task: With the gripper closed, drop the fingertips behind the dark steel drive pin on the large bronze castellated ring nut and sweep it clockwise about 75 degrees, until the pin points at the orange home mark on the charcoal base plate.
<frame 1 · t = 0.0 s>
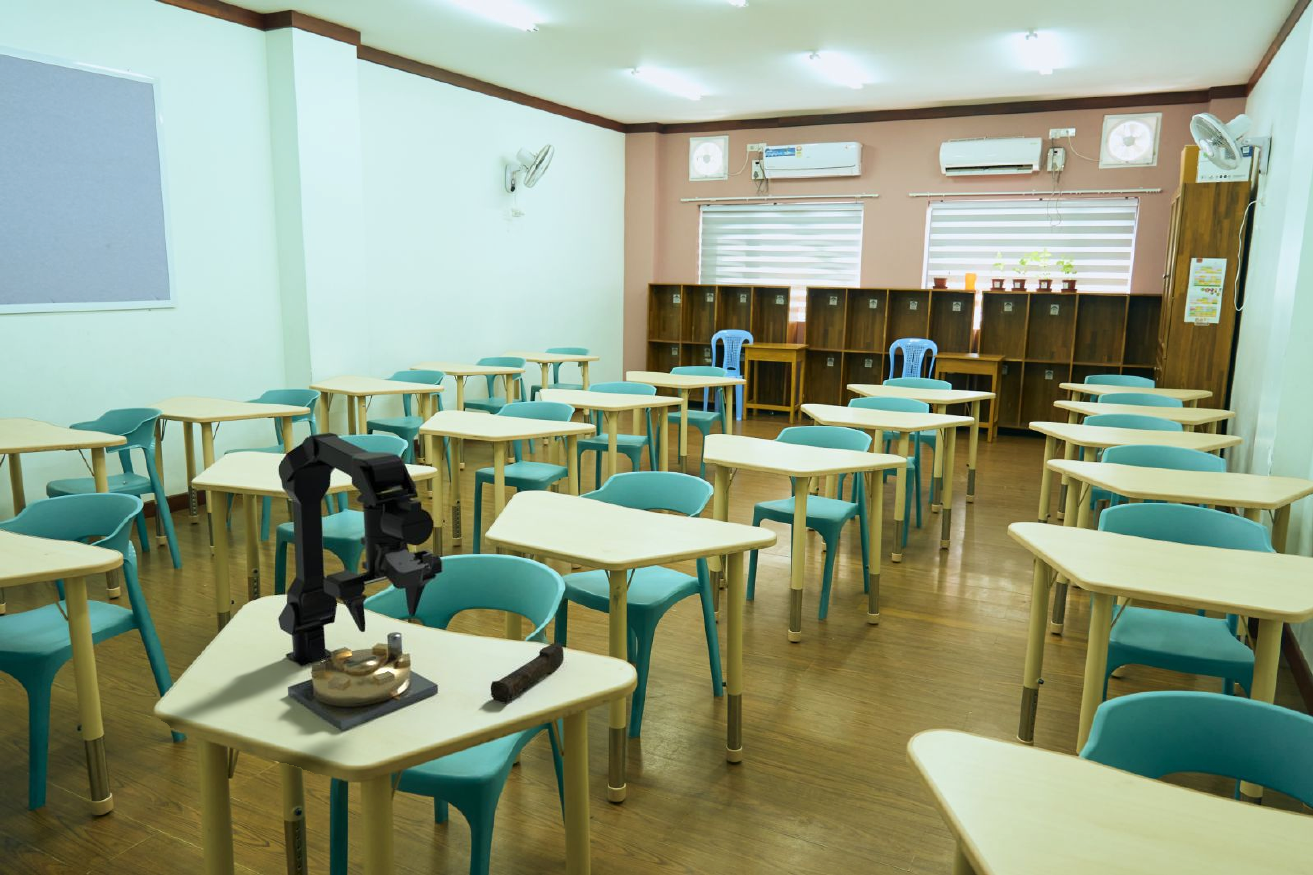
hand: (387, 623, 146), 15 cm above the table, fingers open, 9 cm apart
base plate: (363, 694, 153), on the table
rough bark branch: (530, 682, 159), on the table
ring nut: (361, 665, 152), point 5 cm above the table, hinge at 0.0°
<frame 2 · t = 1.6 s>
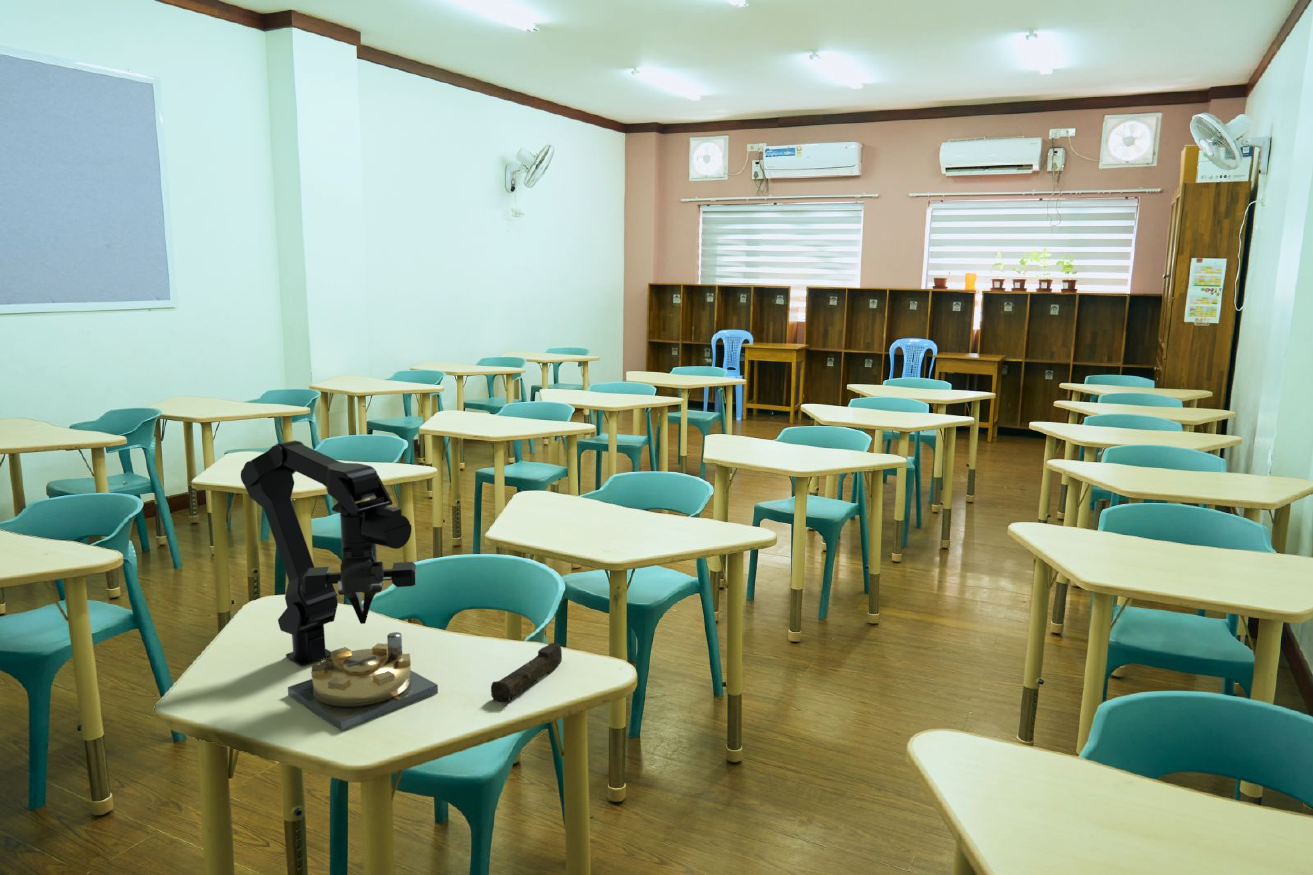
hand: (363, 622, 157), 10 cm above the table, fingers closed
nothing on the table moved.
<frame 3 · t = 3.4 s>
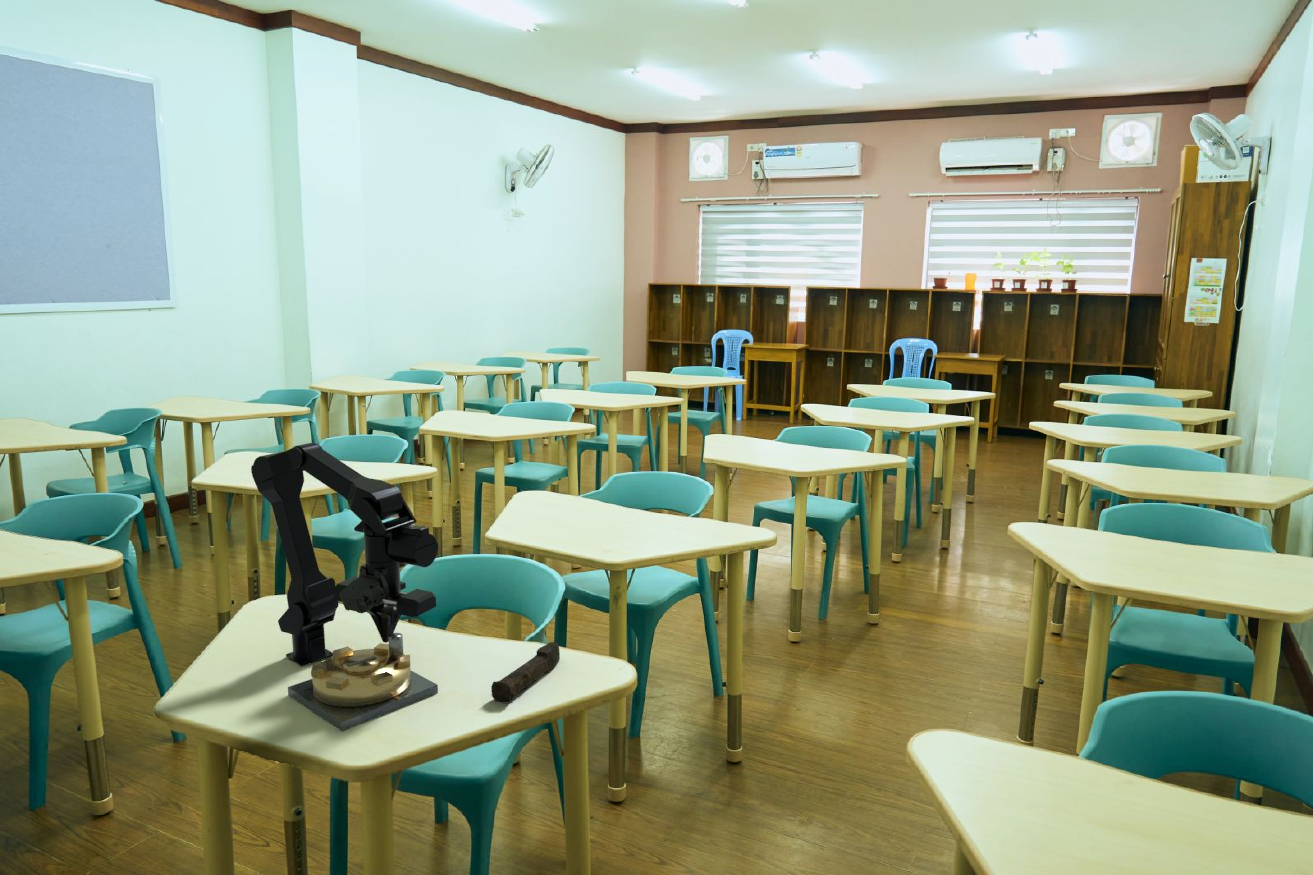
hand: (386, 641, 158), 7 cm above the table, fingers closed
ring nut: (361, 665, 152), point 5 cm above the table, hinge at -3.0°, touching gripper
everything else where it was.
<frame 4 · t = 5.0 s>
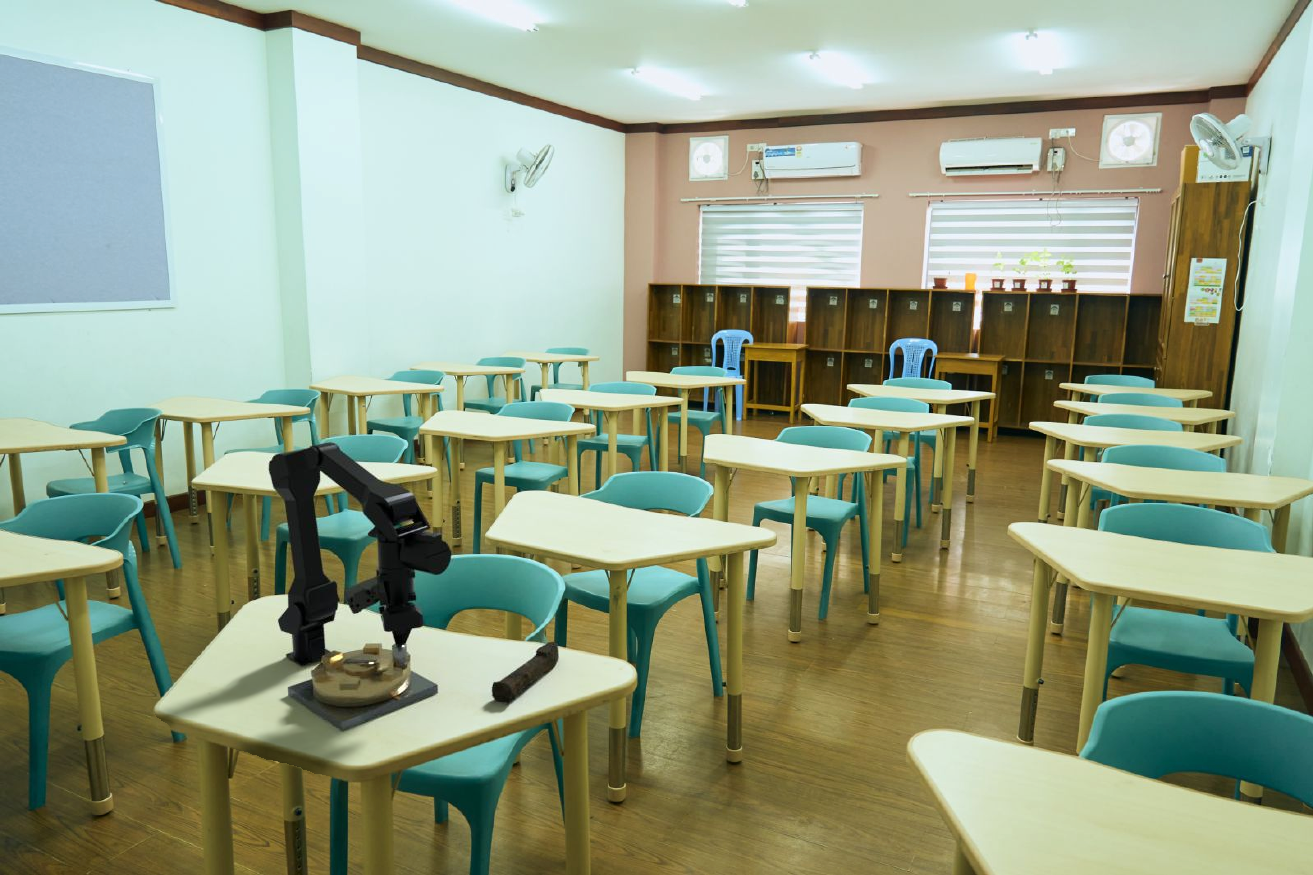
hand: (399, 649, 154), 7 cm above the table, fingers closed
ring nut: (361, 665, 152), point 5 cm above the table, hinge at -45.2°, touching gripper
everything else where it was.
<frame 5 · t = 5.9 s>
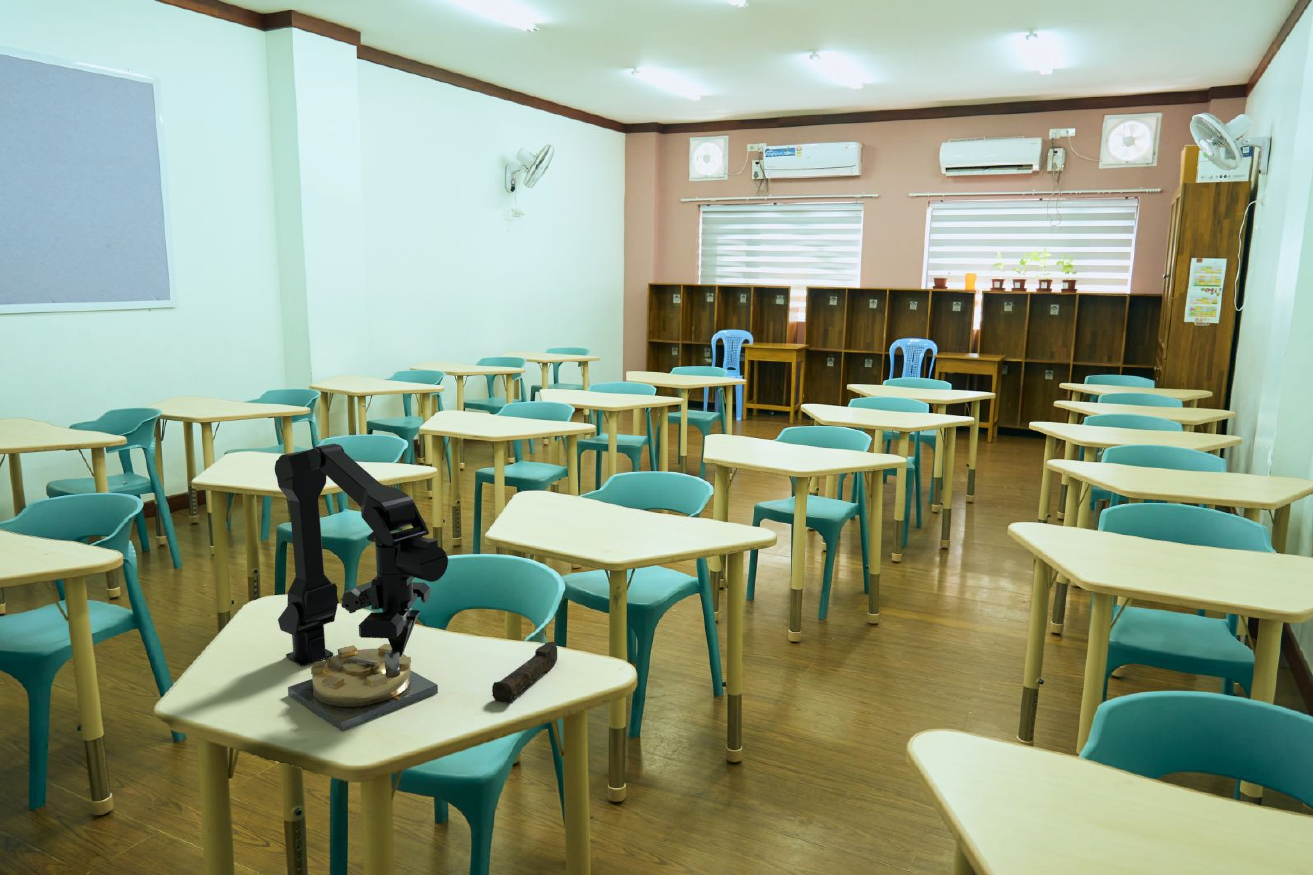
hand: (398, 656, 152), 7 cm above the table, fingers closed
ring nut: (361, 665, 152), point 5 cm above the table, hinge at -70.1°, touching gripper
everything else where it was.
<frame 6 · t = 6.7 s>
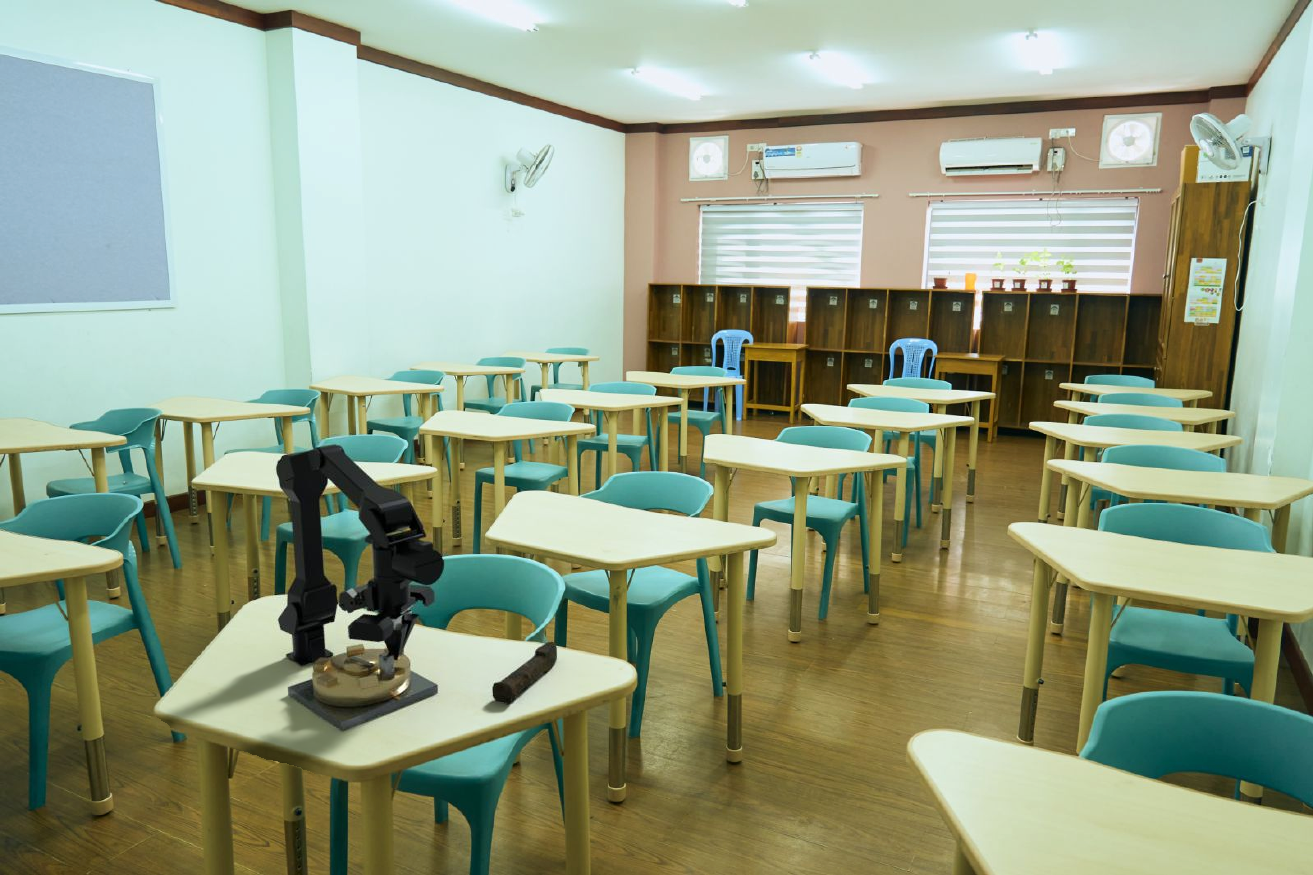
hand: (395, 659, 151), 7 cm above the table, fingers closed
ring nut: (361, 665, 152), point 5 cm above the table, hinge at -81.3°, touching gripper
everything else where it was.
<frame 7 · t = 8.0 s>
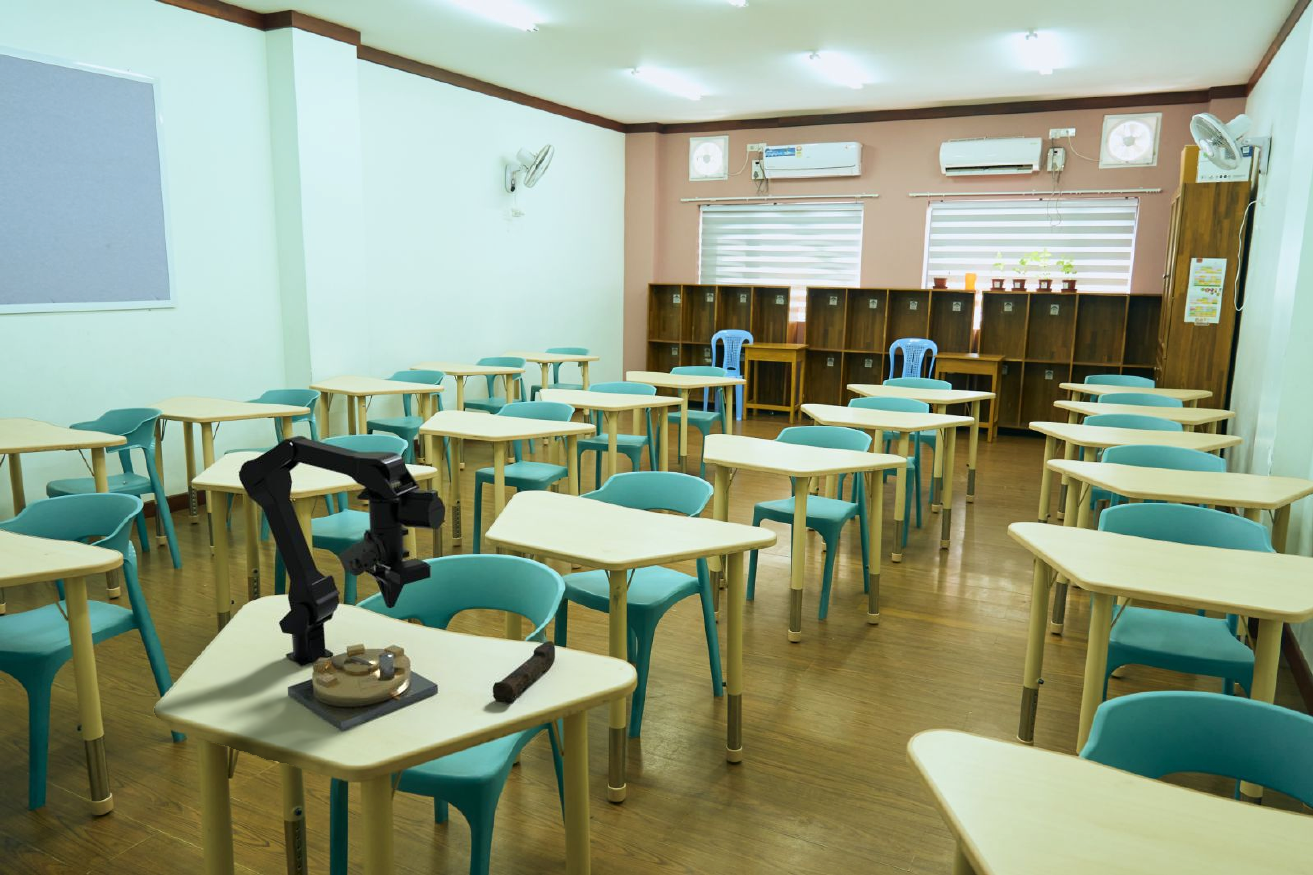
hand: (390, 607, 161), 12 cm above the table, fingers closed
ring nut: (361, 665, 152), point 5 cm above the table, hinge at -81.7°
everything else where it was.
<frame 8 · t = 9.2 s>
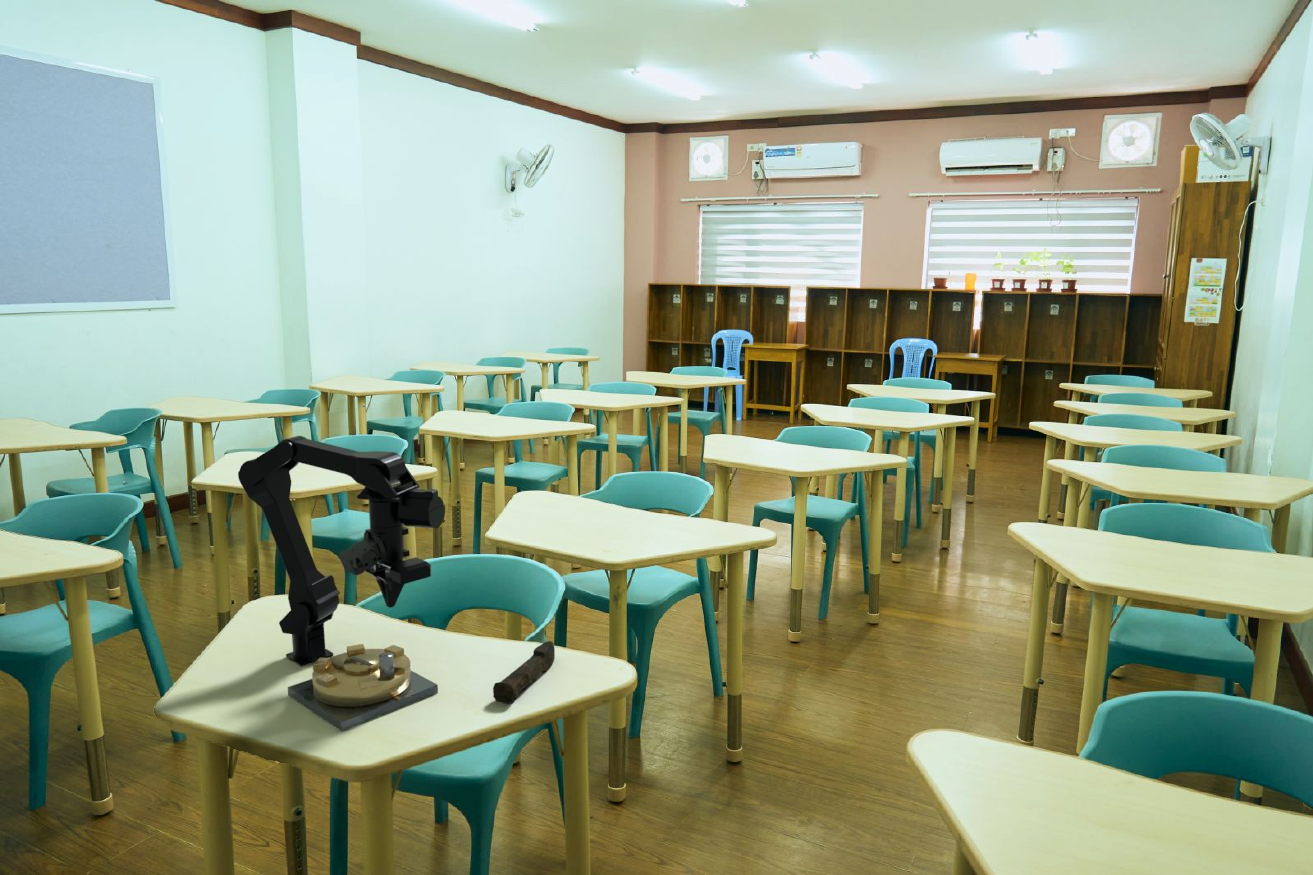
hand: (390, 606, 161), 12 cm above the table, fingers closed
nothing on the table moved.
at the end: ring nut at -82° (first picture: +0°) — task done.
